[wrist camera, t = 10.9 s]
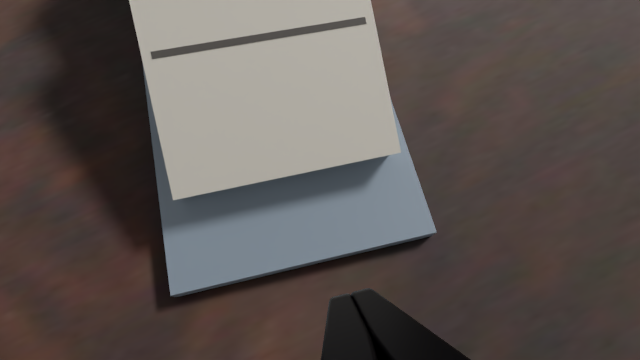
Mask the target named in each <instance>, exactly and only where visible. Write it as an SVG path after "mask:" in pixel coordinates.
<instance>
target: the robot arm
mask: <svg viewBox="0 0 640 360" xmlns="http://www.w3.org/2000/svg"><path fill="white" fill-rule="evenodd" d="M321 360H470V359H469V358H468V357H466V356H465V355H463V354H462V353H461V352H459V351H458V350H456V349H455V348H454V347H452V346H451V345H449V344H448V343H447V342H445V341H444V340H442V339H441V338H440V337H438V336H437V335H435V334H434V333H433V332H431V331H430V330H428V329H427V328H426V327H424V326H423V325H421V324H420V323H419V322H417V321H416V320H414V319H413V318H412V317H410V316H409V315H407V314H406V313H405V312H403V311H402V310H400V309H399V308H398V307H396V306H395V305H393V304H392V303H391V302H389V301H388V300H386V299H385V298H384V297H382V296H381V295H379V294H378V293H377V292H375V291H374V290H372V289H370V288H367V289H363V290H359V291H355V292H352V294H351V296H350V295H349V294H343V295H339V296H335V297H332V298H331V299H330V301H329V307H328V314H327V321H326V328H325V335H324V342H323V349H322V356H321Z"/></svg>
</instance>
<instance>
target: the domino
mask: <svg viewBox="0 0 640 360" xmlns="http://www.w3.org/2000/svg"><path fill="white" fill-rule="evenodd" d="M129 3H130V7H131V12H132V16H133V21H134V25H135V30H136V34H137V39H138V44H139V48H140V53H141V57H142V62H143V66H144V71H145V75H146V80H147V84H148V89H149V93H150V98H151V103H152V107H153V112H154V116H155V121H156V125H157V130H158V134H159V139H160V143H161V148H162V152H163V157H164V162H165V166H166V171H167V175H168V180H169V184H170V189H171V193H172V198H173V200H177V199H182V198H187V197H191V196H196V195H201V194H206V193H211V192H215V191H220V190H225V189H230V188H234V187H239V186H244V185H249V184H254V183H258V182H263V181H268V180H273V179H277V178H282V177H287V176H292V175H297V174H301V173H306V172H311V171H316V170H321V169H325V168H330V167H335V166H340V165H344V164H349V163H354V162H359V161H364V160H368V159H373V158H378V157H383V156H387V155H392V154H397V153H401V149H400V144H399V139H398V134H397V129H396V124H395V119H394V114H393V109H392V104H391V99H390V94H389V89H388V84H387V79H386V74H385V69H384V64H383V59H382V54H381V49H380V44H379V40H378V35H377V30H376V25H375V20H374V15H373V10H372V5H371V0H129Z"/></svg>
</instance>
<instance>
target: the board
mask: <svg viewBox="0 0 640 360" xmlns="http://www.w3.org/2000/svg"><path fill="white" fill-rule="evenodd" d="M142 64H143V62H142ZM143 72H144V80H145V89H146V97H147V105H148V114H149V122H150V130H151V138H152V147H153V155H154V163H155V172H156V180H157V188H158V197H159V205H160V213H161V222H162V230H163V238H164V247H165V255H166V263H167V272H168V280H169V288H170V296H173V297H179V296H183V295H188V294H192V293H196V292H200V291H204V290H208V289H213V288H217V287H221V286H225V285H229V284H234V283H238V282H242V281H246V280H250V279H254V278H259V277H263V276H267V275H271V274H275V273H280V272H284V271H288V270H292V269H296V268H300V267H305V266H309V265H313V264H317V263H321V262H325V261H330V260H334V259H338V258H342V257H346V256H351V255H355V254H359V253H363V252H367V251H371V250H376V249H380V248H384V247H388V246H392V245H397V244H401V243H405V242H409V241H413V240H417V239H422V238H426V237H430V236H432V235H434V234H435V233H436V229H435V226H434V223H433V220H432V217H431V214H430V212H429V209H428V206H427V203H426V200H425V197H424V194H423V191H422V188H421V185H420V183H419V180H418V177H417V174H416V171H415V168H414V165H413V162H412V159H411V157H410V154H409V151H408V148H407V145H406V142H405V139H404V136H403V133H402V130H401V128H400V125H399V122H398V119H397V116H396V113H395V110H394V107H393V104H392V101H391V104H392V109H393V114H394V119H395V124H396V129H397V134H398V139H399V144H400V149H401V153H397V154H392V155H387V156H383V157H378V158H373V159H368V160H364V161H359V162H354V163H349V164H344V165H340V166H335V167H330V168H325V169H321V170H316V171H311V172H306V173H301V174H297V175H292V176H287V177H282V178H277V179H273V180H268V181H263V182H258V183H254V184H249V185H244V186H239V187H234V188H230V189H225V190H220V191H215V192H211V193H206V194H201V195H196V196H191V197H187V198H182V199H177V200H173V198H172V193H171V189H170V184H169V180H168V175H167V171H166V166H165V162H164V157H163V152H162V148H161V143H160V139H159V134H158V130H157V125H156V121H155V116H154V112H153V107H152V103H151V98H150V93H149V89H148V84H147V80H146V75H145V71H144V66H143Z"/></svg>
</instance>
